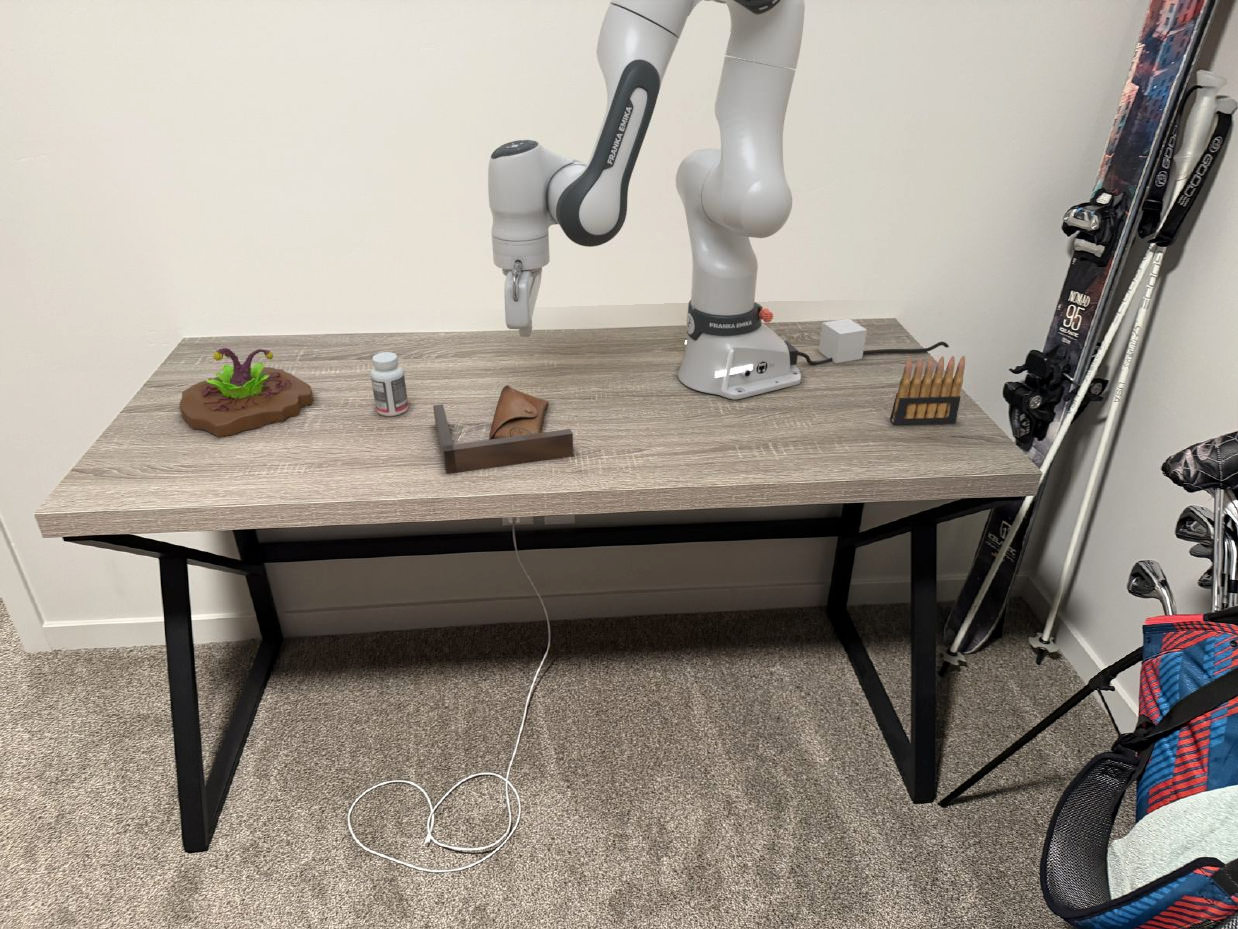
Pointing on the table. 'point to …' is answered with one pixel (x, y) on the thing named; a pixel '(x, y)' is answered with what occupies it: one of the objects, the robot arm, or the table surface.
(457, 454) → the bracket
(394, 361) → the pill bottle
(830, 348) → the white cube
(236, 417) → the plant
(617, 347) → the table surface
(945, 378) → the ammunition clip
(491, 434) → the sunglasses case
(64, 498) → the table surface
